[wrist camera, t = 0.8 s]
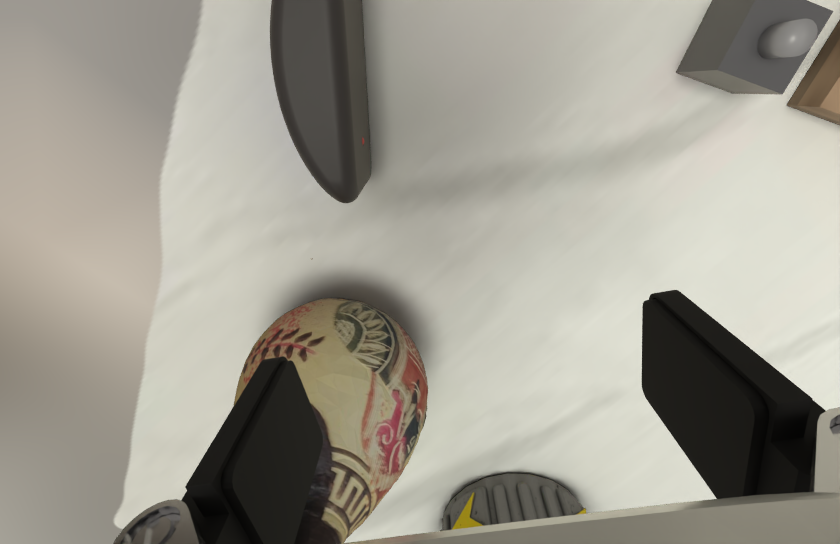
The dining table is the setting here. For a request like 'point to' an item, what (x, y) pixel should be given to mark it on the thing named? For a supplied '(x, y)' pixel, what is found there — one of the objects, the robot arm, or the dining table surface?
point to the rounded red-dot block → (324, 89)
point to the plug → (753, 44)
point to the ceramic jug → (349, 405)
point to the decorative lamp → (509, 501)
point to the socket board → (822, 83)
